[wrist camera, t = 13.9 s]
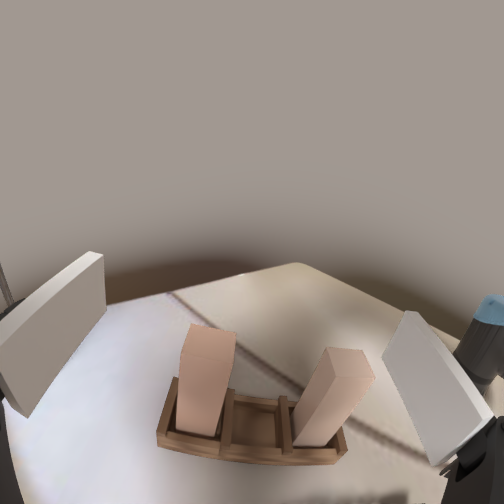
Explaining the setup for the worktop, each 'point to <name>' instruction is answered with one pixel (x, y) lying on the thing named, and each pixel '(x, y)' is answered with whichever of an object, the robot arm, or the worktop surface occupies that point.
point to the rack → (247, 433)
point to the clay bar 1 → (203, 379)
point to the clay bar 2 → (330, 396)
